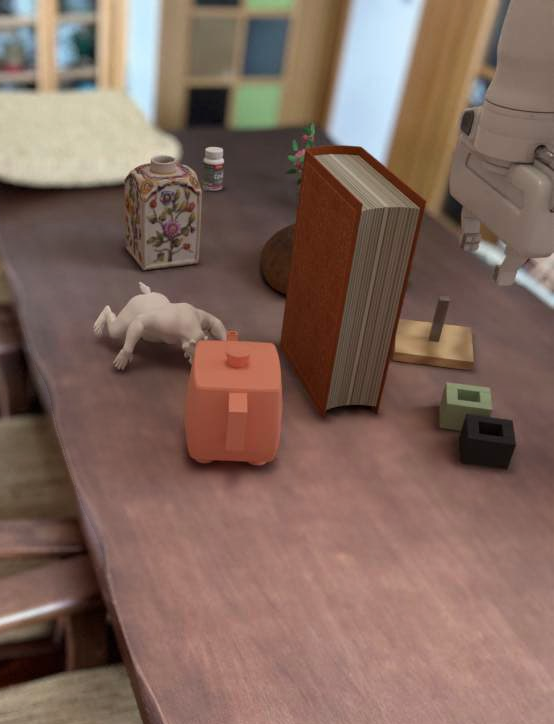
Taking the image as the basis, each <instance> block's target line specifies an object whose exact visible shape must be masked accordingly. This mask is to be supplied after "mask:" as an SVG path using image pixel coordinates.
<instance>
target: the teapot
mask: <svg viewBox="0 0 554 724" xmlns="http://www.w3.org/2000/svg"><path fill="white" fill-rule="evenodd" d="M226 331H227V337H226V341H218V340H212V339H211V340H209V339H208V340H200V341H199V342H198V343H197V345H196V349H195V353H194V358H193V363H192V364H191V368H190V373H189V379H188V384H187V389H186V396H185V404H184V431H185V432H184V433H185V440H186V446H187V451H188V454H189V457H190V458H191V459H194V461H196V462H198V463H200V464H209V463H212V462H214V461H222V462H223V461H227V462H247V463H248V464H250V465H253V466H263V465H265V464H266V463H269V462H273V461H274V459H275V457H276V455H277V452H278V450H279V446H280V441H281V431H282V417H283V385H282V383H283V382H282V370H281V363H280V358H279V353H278V350H277V347H276V345H275V344H274V343H272V342H262V341H245V340H244V341H243V340H241V341H240V340H239V333H238V331H236V330H235V331H233V330H232V331H231V330H226Z"/></svg>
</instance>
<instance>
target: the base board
mask: <svg viewBox="0 0 554 724" xmlns="http://www.w3.org/2000/svg"><path fill="white" fill-rule="evenodd" d="M450 298H451V297H450V296H447V295H439V296H438V299H437V303H436V307H435V311H434V314H433V318H432V321H431V322H429V321H421V320H414V319H413V320H412V319H404V318H400V319H399V323H398V327H397V332H396V336H395V341H394V345H393V349H392V361H395V362H402V363H409V364H410V363H411V364H418V365H426V366H434V367H442V368H448V369H449V368H450V369H456V370H463V371H464V370H465V371H473V366H474V364H475V358H474V347H473V335H472V327H470V326H461V325H454V324H446V323H445V321H446V317H447V314H448V310H449V306H450V303H451V299H450Z"/></svg>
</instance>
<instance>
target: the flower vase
mask: <svg viewBox="0 0 554 724" xmlns="http://www.w3.org/2000/svg"><path fill="white" fill-rule="evenodd" d="M315 128H316V127H315V123H314V122H312V123H311V124H310V126H309V127H303V126H302V131H303V134H302V137H301V138H300V140H301V142H302V143H301V144H302V145H304V146H305V148H302V149H301V150H300V149H299V146H298V143H297V141H296V139H295V138H293V139H292V142H291V146H292V150H293V151H294V152H296V153H295V154H294V155H287V156H286V158H287V159H288V160H289V161H290V162H292V163H293V166H295V167H291V168H289V169H287V170H286V171H285V172H284V175H291V174H297V172H298V173H300V174H302V169H303V162H304V154H305V149H306V148H311V145H312V147H315V145H314V143H315V134H316V129H315ZM320 146H324V145H323V144H322V145H320ZM298 149H299V150H298ZM300 185H301V177H299V178H298V179H297V180H296V186H300Z"/></svg>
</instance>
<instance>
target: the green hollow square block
mask: <svg viewBox="0 0 554 724" xmlns="http://www.w3.org/2000/svg"><path fill="white" fill-rule="evenodd" d="M438 408H439V428H440V429H444V430H445V429H446V430H451V431H452V430H453V431H460V432H461V430H462V426H463V423H464V420H465V417H466V414H471V415H478V416H485V417H491V415H492V412H493V403H492V395H491V387H488V386H487V387H484V386H478V385H471V384H463V383H457V382H448V381H447V382H445V385H444V389H443V392H442V395H441V399H440V402H439V407H438Z"/></svg>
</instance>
